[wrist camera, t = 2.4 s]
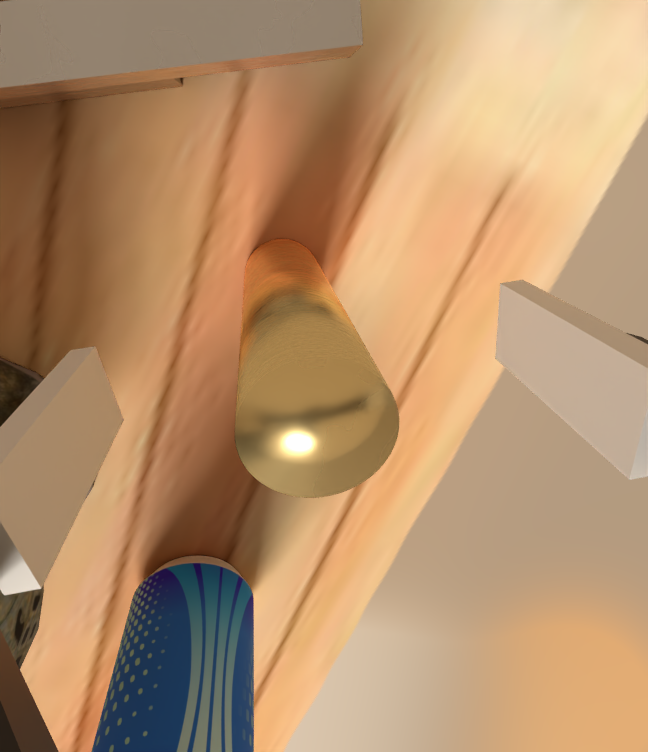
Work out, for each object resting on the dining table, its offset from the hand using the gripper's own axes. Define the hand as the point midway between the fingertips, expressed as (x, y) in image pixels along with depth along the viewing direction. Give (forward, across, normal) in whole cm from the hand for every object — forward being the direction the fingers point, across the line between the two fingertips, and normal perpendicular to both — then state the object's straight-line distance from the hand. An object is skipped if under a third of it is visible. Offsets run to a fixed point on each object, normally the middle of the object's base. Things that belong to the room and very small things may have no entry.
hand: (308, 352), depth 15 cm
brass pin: (+10, 0, 0) cm, 11 cm away
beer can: (+10, -10, -22) cm, 27 cm away
